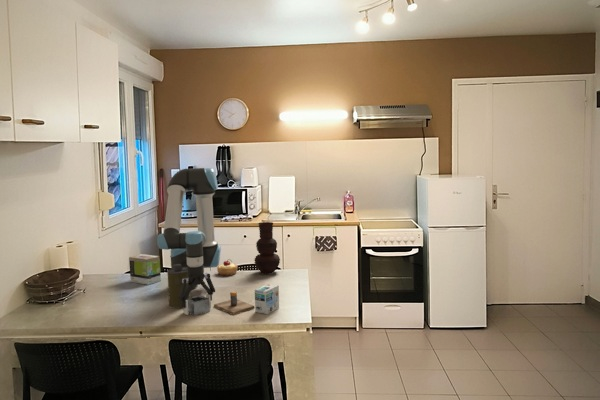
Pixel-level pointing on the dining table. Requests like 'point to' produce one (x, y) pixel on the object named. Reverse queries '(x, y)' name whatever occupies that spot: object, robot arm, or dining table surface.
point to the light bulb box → (266, 298)
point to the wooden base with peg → (234, 305)
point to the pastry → (227, 268)
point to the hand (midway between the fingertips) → (197, 311)
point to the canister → (176, 284)
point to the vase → (266, 249)
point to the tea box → (145, 269)
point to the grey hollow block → (198, 305)
